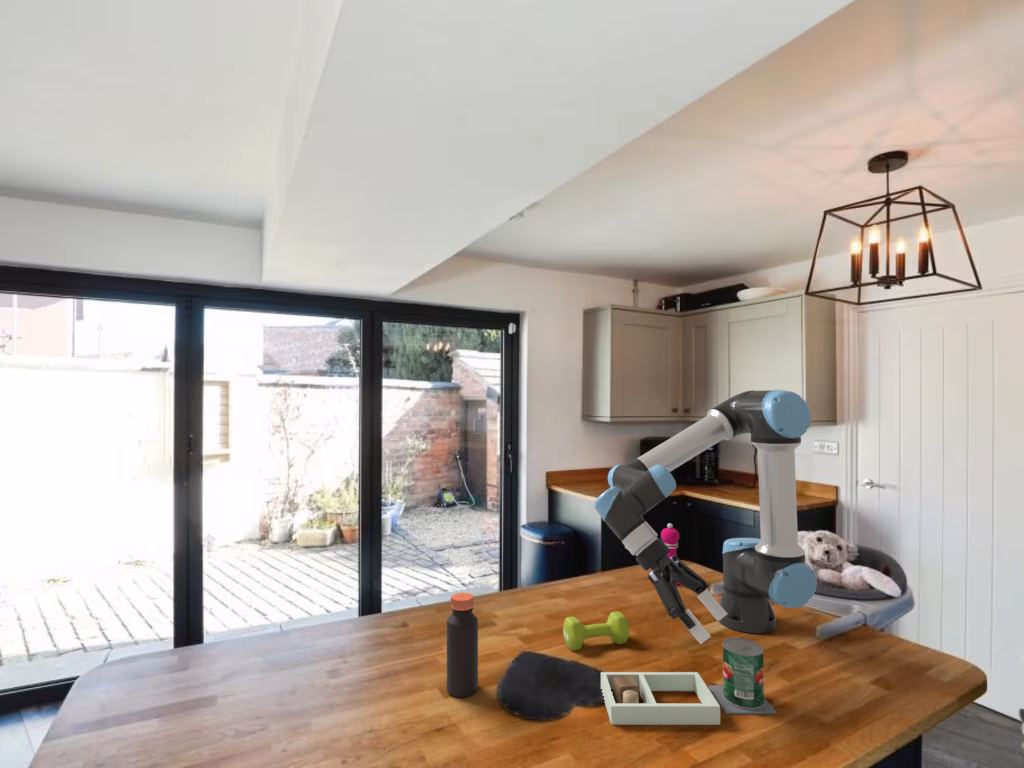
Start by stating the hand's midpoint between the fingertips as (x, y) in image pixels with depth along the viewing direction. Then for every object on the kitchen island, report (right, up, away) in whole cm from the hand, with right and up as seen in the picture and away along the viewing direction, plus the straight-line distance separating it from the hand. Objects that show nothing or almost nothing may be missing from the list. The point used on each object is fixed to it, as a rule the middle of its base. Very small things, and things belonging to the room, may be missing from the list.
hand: (714, 628), depth 117 cm
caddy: (-14, -13, -5) cm, 20 cm away
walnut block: (-20, -14, -3) cm, 24 cm away
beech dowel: (-20, -13, -8) cm, 25 cm away
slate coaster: (+4, -13, -3) cm, 14 cm away
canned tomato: (+5, -13, -4) cm, 14 cm away
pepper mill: (+10, -15, +68) cm, 70 cm away
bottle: (-54, -14, +1) cm, 56 cm away
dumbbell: (-22, -14, +22) cm, 35 cm away
